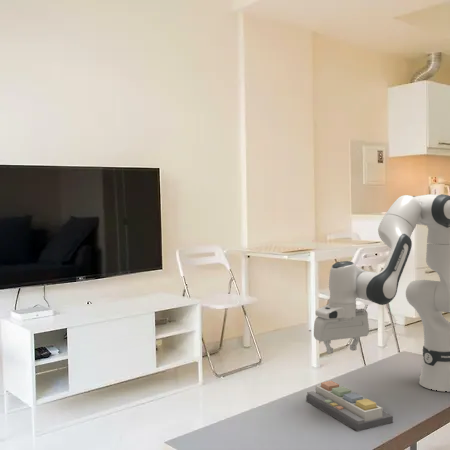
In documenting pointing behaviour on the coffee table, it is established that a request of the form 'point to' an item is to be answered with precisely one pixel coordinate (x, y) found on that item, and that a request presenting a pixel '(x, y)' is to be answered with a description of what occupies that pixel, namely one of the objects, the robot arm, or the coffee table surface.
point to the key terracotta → (329, 385)
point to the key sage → (340, 391)
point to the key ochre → (366, 404)
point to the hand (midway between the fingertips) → (341, 351)
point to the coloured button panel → (347, 410)
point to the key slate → (352, 397)
